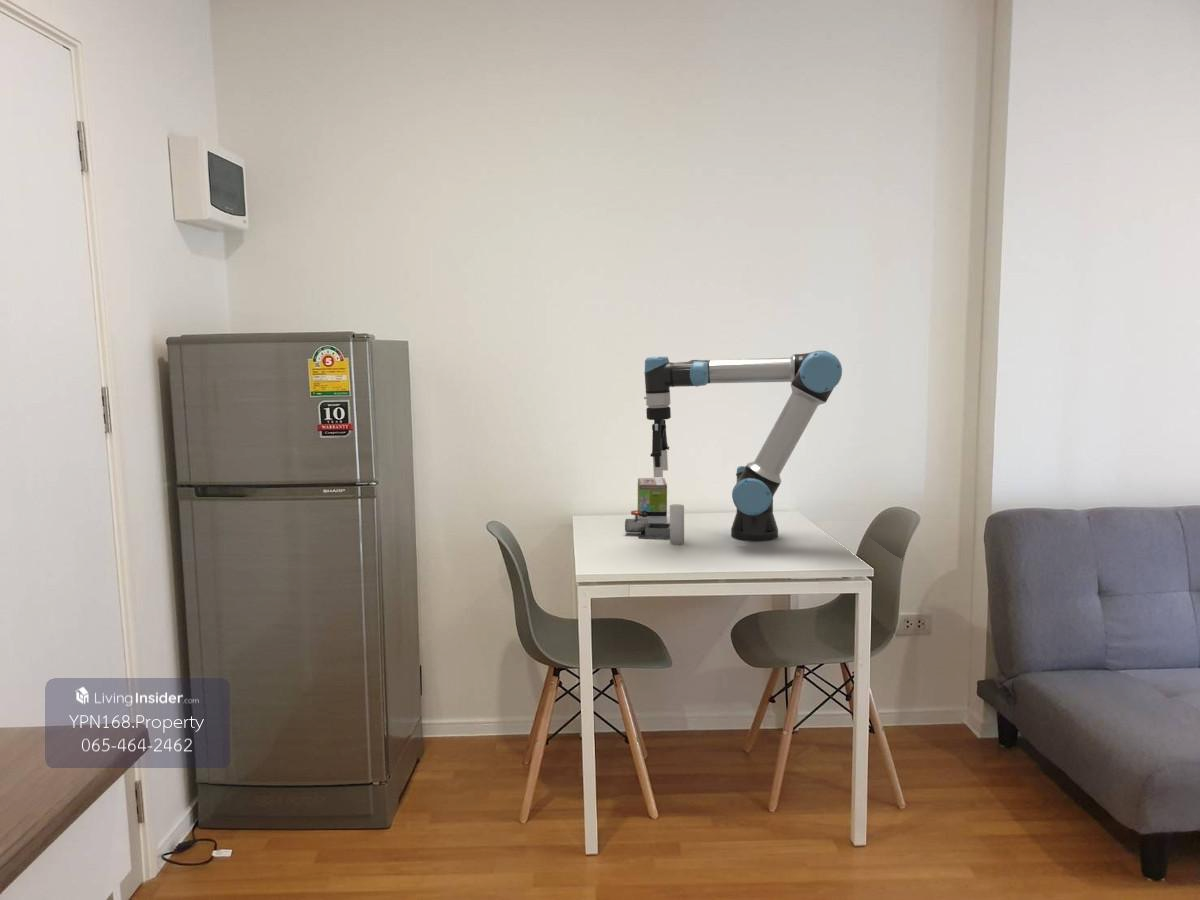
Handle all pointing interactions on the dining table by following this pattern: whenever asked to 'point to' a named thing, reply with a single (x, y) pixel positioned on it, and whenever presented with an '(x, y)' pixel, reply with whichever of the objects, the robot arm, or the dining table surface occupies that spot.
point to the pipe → (677, 524)
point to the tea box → (652, 499)
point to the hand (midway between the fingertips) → (661, 473)
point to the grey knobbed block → (647, 528)
